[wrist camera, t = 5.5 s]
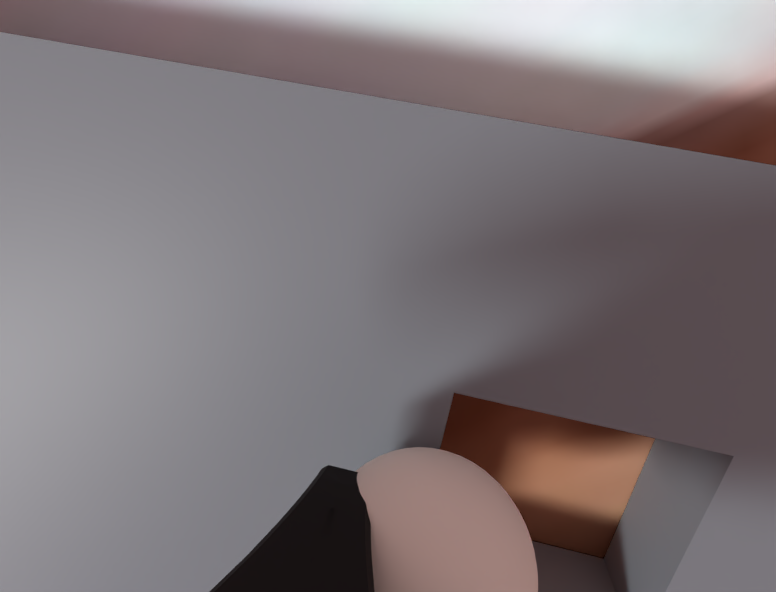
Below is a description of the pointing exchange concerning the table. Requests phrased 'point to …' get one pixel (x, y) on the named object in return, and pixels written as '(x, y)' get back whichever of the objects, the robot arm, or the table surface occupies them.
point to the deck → (357, 317)
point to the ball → (443, 526)
